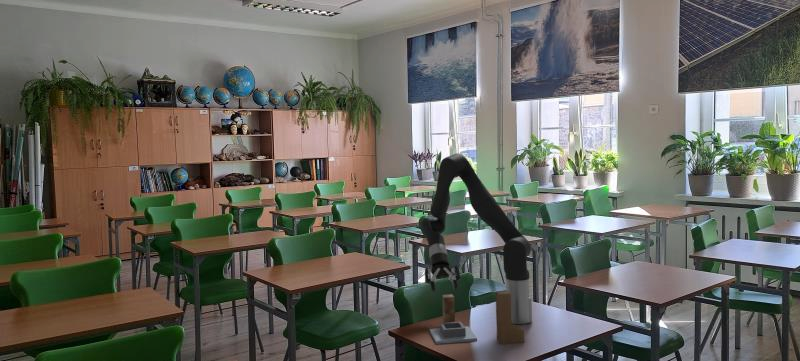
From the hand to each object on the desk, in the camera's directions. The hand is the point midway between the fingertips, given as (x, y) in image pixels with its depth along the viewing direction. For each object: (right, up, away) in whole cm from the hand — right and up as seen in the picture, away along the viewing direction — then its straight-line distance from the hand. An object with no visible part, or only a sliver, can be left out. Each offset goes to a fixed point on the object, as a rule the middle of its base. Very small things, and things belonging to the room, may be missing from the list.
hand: (444, 290), depth 238 cm
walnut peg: (+1, -13, -6) cm, 14 cm away
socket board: (+2, -13, -19) cm, 23 cm away
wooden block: (+22, -14, -26) cm, 37 cm away
